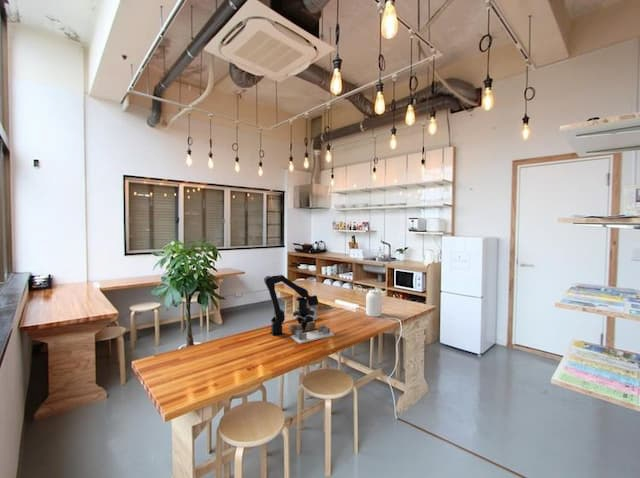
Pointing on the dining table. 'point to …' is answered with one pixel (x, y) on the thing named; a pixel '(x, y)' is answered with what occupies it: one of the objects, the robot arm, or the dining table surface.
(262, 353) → the dining table surface
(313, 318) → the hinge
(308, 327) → the slat
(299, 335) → the end cap plate
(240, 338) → the dining table surface
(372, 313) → the can
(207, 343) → the dining table surface
